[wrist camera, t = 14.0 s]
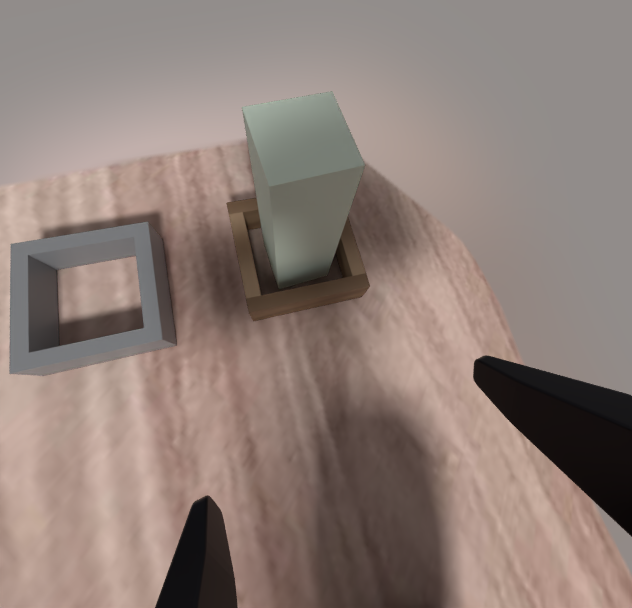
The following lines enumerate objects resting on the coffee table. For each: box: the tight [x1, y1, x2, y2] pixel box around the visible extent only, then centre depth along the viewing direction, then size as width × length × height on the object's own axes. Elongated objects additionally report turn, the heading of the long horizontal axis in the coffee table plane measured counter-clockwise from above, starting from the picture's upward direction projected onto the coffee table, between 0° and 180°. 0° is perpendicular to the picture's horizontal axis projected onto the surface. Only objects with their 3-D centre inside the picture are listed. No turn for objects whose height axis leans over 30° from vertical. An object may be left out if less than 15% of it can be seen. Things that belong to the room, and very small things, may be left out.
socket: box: [10, 222, 177, 376], centre depth 20 cm, size 8×8×2 cm
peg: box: [242, 91, 365, 289], centre depth 18 cm, size 4×4×12 cm
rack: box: [227, 198, 370, 321], centre depth 22 cm, size 8×8×2 cm
